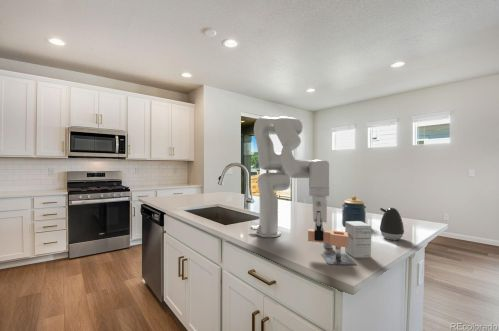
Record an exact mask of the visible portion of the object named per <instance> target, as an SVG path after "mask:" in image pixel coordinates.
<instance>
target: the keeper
mask: <svg viewBox="0 0 499 331" xmlns="http://www.w3.org/2000/svg"><path fill="white" fill-rule="evenodd" d="M322 244H323V247H324V249H332V248H333V245H330V244H328V243H322Z"/></svg>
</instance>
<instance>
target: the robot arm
mask: <svg viewBox="0 0 499 331" xmlns="http://www.w3.org/2000/svg"><path fill="white" fill-rule="evenodd" d="M253 126H254V127H253V136H254V139H255V142H256V147H257V157H258V159H257V160H258V165H259V168H260V169H261V170H262V171H276V172H263V173H261V174H260V175H259V176H258V177H257V188H258V193H259V200H258V201H259V204H258V205H259V208H258V209H259V217H258V220H259V221H258V222H259V223H258V225H250V230H252V231H256V232H255V234H256V235H257V236H258V237H260V238H261V237H262V238H277V237H280V236H281V235H282V232H281V231H280V230H278V227H279V220H278V219H279V217H278V216H279V199H278V196H277V194H276V193H275V192H278V191H281V192H282V191H287V190H288V189H289V188H290V186H291V178H293V179H308V196H311V204H312V205H311V206H312V207H311V209H312V210H311V211H312V220H313V222H314V225H315V226H314V229H315V241H323V230H324V225H323V224H324V223H325V224H326V223H327V220H328V219H327V218H328V217H327V213H328V212H327V211H328V210H327V206H328V205H327V204H328V203H327V197H329V196H330V163H329V161H328V160H327V159H326V160H324V159H314V160H312V159H296V157H294V154H293V153H292V151H294V150H296V149H297V148H298V147H300V145H301V142H302V141H301V138H300V134H301V133H302V132H303V123H302V121H301V120H300V119H299V118H296V117H288V116H279V117H269V116H261V117H259V118H257V119H256V120H255V121H254V125H253ZM270 135H276V136H277V138H278V140H279V142H280V144H281V146H282V148H281V152H276V151H275V148H274V142H273V141H272V138H271V137H270Z"/></svg>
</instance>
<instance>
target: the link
mask: <svg viewBox="0 0 499 331" xmlns="http://www.w3.org/2000/svg"><path fill="white" fill-rule="evenodd" d="M348 240H349V236H348V233H347V232H345V231H340V230H332V229H330V230H324V229H323V241H315V228H308V231H307V241H308V242H314V243H320V244H323V243H328V244H330V245H332V247H335V246H340V247H341V248H342V247H343V248H345V247H348Z"/></svg>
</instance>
